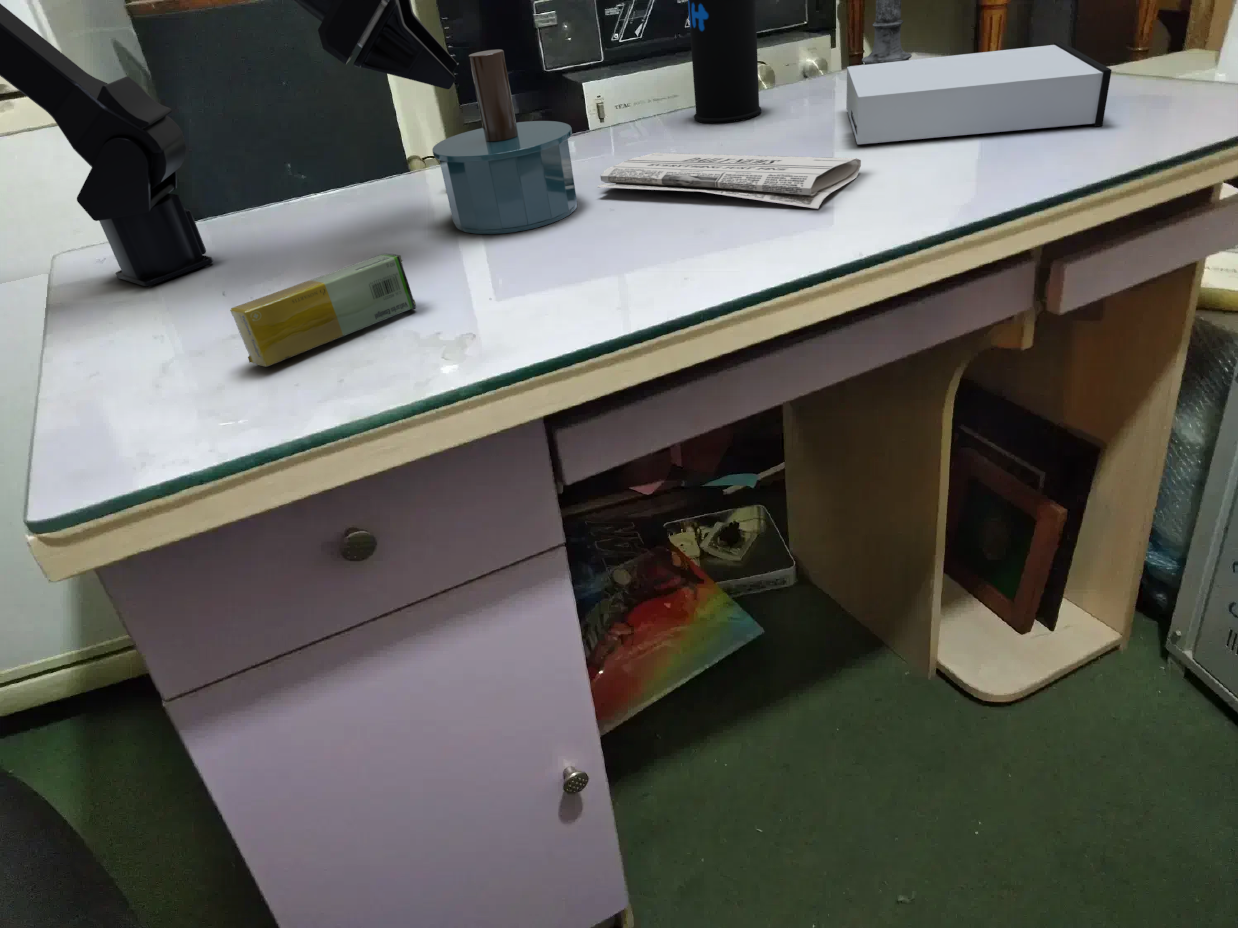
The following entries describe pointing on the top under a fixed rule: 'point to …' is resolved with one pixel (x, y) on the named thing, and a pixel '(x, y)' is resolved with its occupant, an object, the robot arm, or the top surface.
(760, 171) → the newspaper
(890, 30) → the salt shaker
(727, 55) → the aerosol can
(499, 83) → the lid
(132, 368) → the top surface
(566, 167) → the canister
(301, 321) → the medication box
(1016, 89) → the disc drive
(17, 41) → the robot arm
